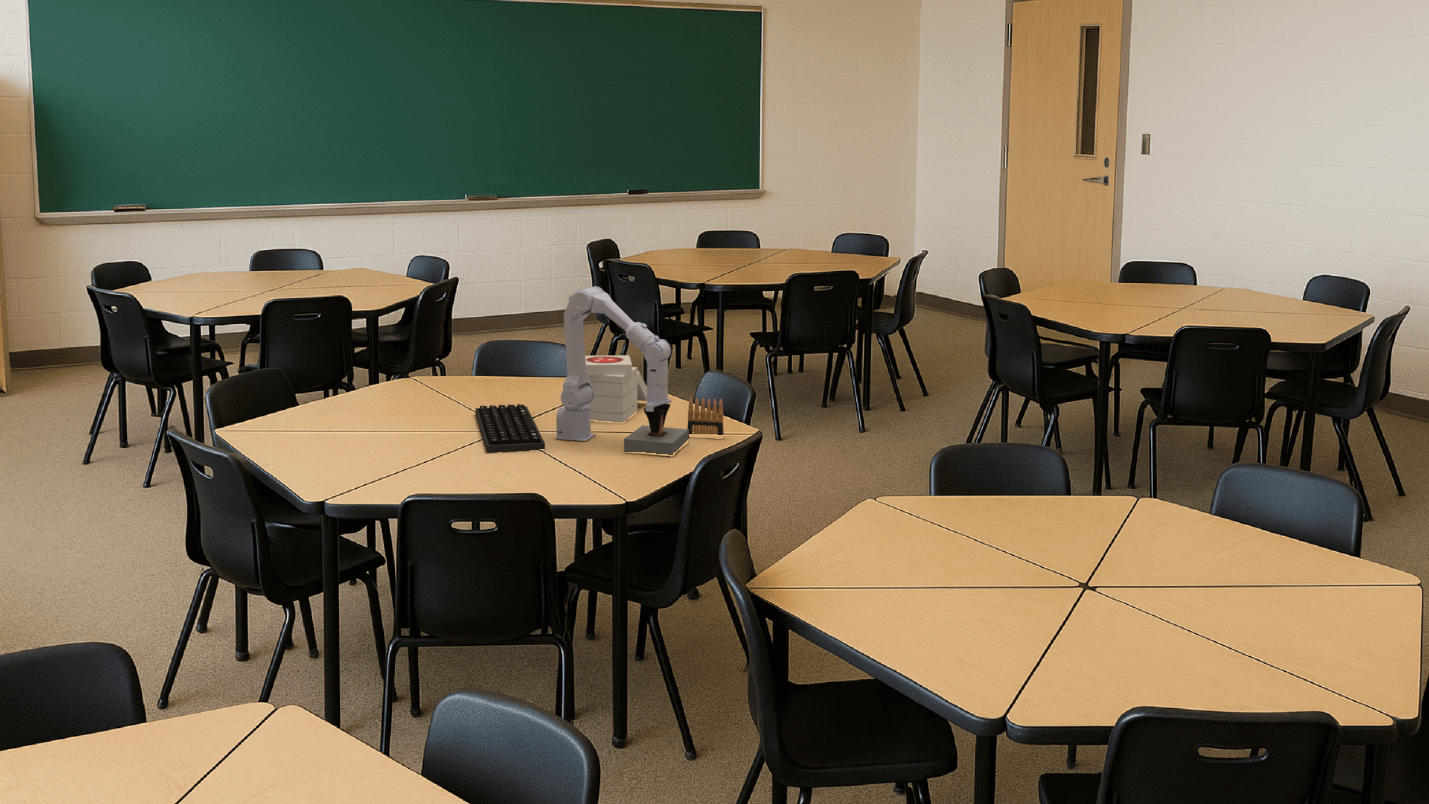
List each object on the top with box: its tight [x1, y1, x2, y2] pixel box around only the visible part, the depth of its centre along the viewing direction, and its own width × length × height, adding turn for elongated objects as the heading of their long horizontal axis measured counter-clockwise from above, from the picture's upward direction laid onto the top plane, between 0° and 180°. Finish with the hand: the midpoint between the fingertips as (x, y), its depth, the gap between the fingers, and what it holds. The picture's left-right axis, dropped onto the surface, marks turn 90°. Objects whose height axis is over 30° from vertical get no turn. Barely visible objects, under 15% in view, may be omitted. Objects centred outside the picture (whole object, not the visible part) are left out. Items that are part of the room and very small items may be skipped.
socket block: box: [623, 425, 690, 455], centre depth 328 cm, size 14×16×4 cm
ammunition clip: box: [686, 397, 724, 435], centre depth 339 cm, size 11×2×12 cm, turn 82°
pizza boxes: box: [585, 354, 647, 423], centre depth 366 cm, size 19×30×18 cm, turn 166°
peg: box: [651, 415, 663, 437], centre depth 327 cm, size 3×3×8 cm
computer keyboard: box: [475, 403, 546, 454], centre depth 343 cm, size 45×16×4 cm, turn 15°
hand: (657, 430), depth 327 cm, fingers closed on peg, 3 cm apart
